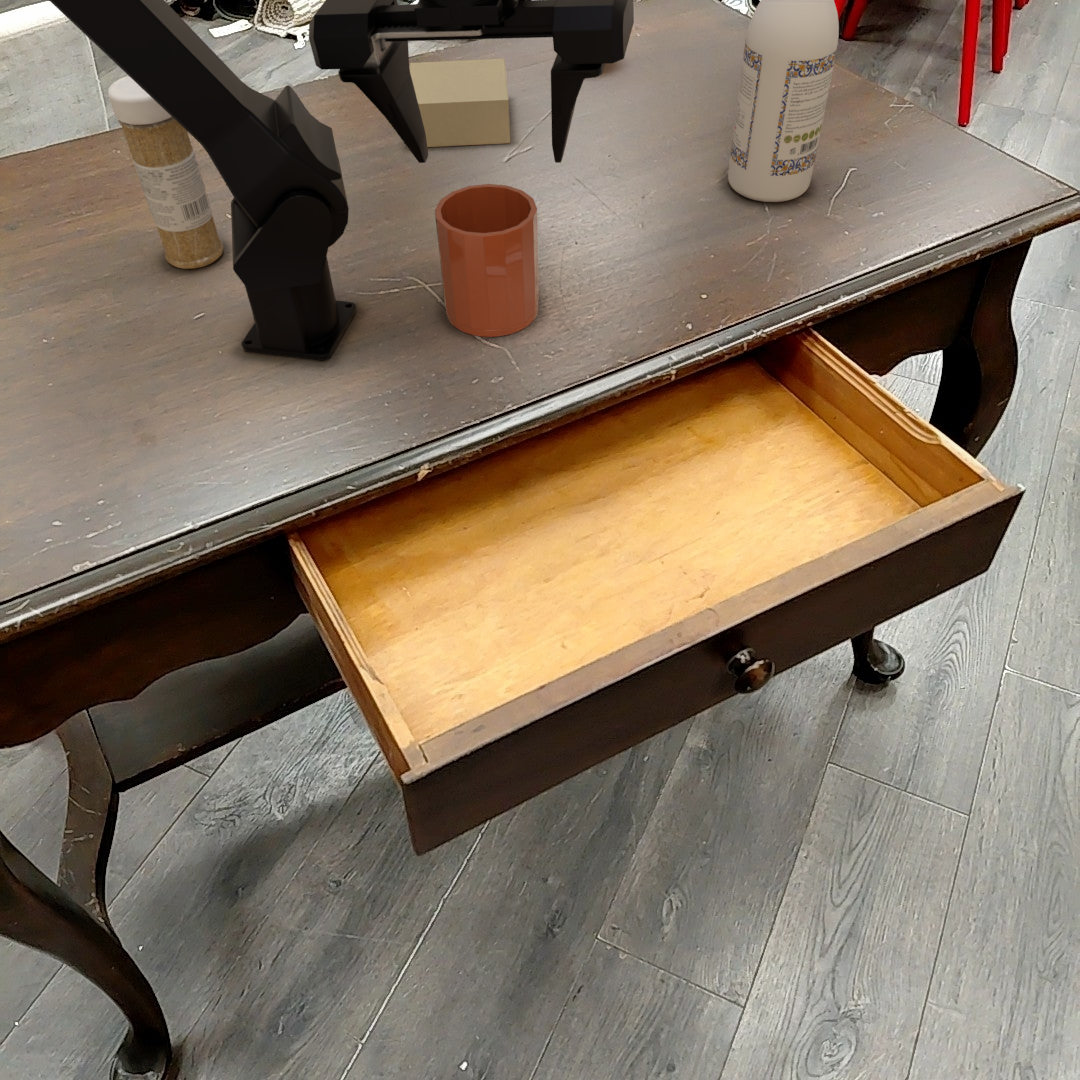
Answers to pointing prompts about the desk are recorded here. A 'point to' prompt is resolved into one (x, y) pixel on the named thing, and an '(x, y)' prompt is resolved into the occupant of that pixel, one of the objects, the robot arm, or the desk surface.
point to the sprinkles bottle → (167, 176)
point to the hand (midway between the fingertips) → (490, 159)
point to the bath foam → (782, 97)
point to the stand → (463, 101)
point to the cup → (489, 259)
